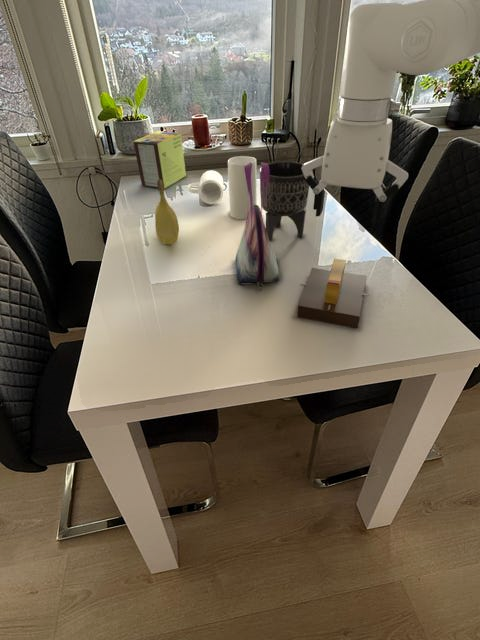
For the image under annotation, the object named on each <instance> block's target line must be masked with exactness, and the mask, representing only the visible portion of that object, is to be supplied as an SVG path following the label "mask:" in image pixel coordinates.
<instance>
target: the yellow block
mask: <svg viewBox="0 0 480 640" xmlns="http://www.w3.org/2000/svg"><path fill="white" fill-rule="evenodd" d="M346 263H347V260H346V259H341V258H334V259H333V262H332V265H331V269H330V270H331V272H330V275H329V278H328V282H327V287H326V294H325V301H324V302H326V303H332V304H337V300H338V296H339V292H340V288H341V284H342V280H343V275H344V273H345V268H346Z"/></svg>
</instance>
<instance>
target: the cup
mask: <svg viewBox="0 0 480 640" xmlns="http://www.w3.org/2000/svg"><path fill="white" fill-rule="evenodd" d="M250 162H251V163H252V170H251V188H252V203H253V205H258V204H257V200H258V199H257V197H258V195H257V194H258V193H257V192H258V190H257V188H258V187H257V173H258V172H257V158H255V157H253V156H248V155H240V156H233V157H230V158H229V159H228V160H227V173H228V174H227V175H228V194H229V195H228V196H229V214H230V215H229V216H230V217H231V218H233V219H236V220H246V218H247V213H249V209H250V207H251V206H250V196H249V191H248V187H247V182H246V175H245V168H244V167H245V165H247V164H249V163H250Z"/></svg>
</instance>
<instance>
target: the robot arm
mask: <svg viewBox="0 0 480 640" xmlns="http://www.w3.org/2000/svg"><path fill="white" fill-rule="evenodd" d="M346 31H347V32H346V39H345V47H344V54H343V55H344V57H343V62H342V63H343V64H342V71H341V72H342V73H341V78H340V79H341V81H340V88H339V96H338V106H337V111H336V112H337V113H336V116H333V118H332V120H331V122H330V126H329V130H328V133H327V136H326V137H327V138H326V142H325V147H324V153H323V155H320V156H318V157H316V158H313V159H311V160H309V161H307V162H305V163H303V164H304V165H303V166H302V168H301V169H302V172H303V174H304V177H305V178H306V182H307V184H308V185H309V188H310V189H311V190H312V193H313V194H314V198H313V199H314V200H313V207H312V210H315V217H320V216H321V215H322V214H323V211H324V204H325V197H326V196H325V195H326V190H325V189H326V188H327V187H328V186H333V187H343V188H344V187H345V188H351V189H361V190H372V191H373V192H374V194H375V199H374V204H373V209H372V213H371V214H372V215H371V219H370V223H371V224H373V225H374V224H376V220H377V218H379V219H381V217H382V212H383V207H384V203H385V201H386V200H387V199H389V198H390V197H391V196H393V195H394V194H396V193H397V192H399V190H400V189H401V187H402V186H403V185H404V184H405V182H407V180H408V179H409V173H408V171H406V170H404V169H403V168H401V167H400V166H398V165H397V164H395V163H394V162H393V161H391V160H390V159H389V157H390V156H389V155H390V150H391V143H392V137H393V136H392V135H393V120H392V119H391V118H389V116H391V114H395V113H396V114H400V109H401V104H402V102H399V101H398V102H397V101H396V100H394V99H393V94H394V89H395V83H396V78H397V73H401V74H407V75H411V76H423V75H428V74H431V73H434V72H436V71H439V70H442V69H445V68H448V67H451V66H453V65H455V64H457V63H460V62H462V61H464V60H467V59H469V58H471V57H473V56H475V55H478V54H480V0H419V1H415V2H414V1H413V2H409V3H405V4H402V3H398V2H379V3H378V2H377V3H375V2H374V3H366V4H365V3H364V4H360V5H357V6H355V8H353V10H352V11H351V13H350V15H349V19H348V25H347V30H346ZM319 167H321V172H320V180H318V178H317V177H316V176H315V175H314V173H313V170H314V169H316V168H319ZM386 172H387V173H389V174H390V175H392V176H393V177H395V180H394V181H393V182H392V183H391V184H389V185H388V186H385V184H384V183H383V181H384V178H385V176H386Z"/></svg>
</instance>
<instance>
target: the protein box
mask: <svg viewBox="0 0 480 640" xmlns="http://www.w3.org/2000/svg"><path fill="white" fill-rule="evenodd" d="M182 141H183V140H182V132H173V131H161V130H157V131H154V132H153V133H152V132H151V133H150V134H147V135H144V136H143V137H140V138H138V139H134V140H133V141H132V143H133V148H134V153H135V157H136V162H137V167H138V173H139V176H140V177H139V178H140V183H141V186H143V187H149V188H156V189H158V185H157V181H158V180H159V179H161V180H163V182H164V188H165V189H167V188H168V187H170V186H172V185H174V184H175V183H177V182H178V181H180V180H181V179H183V178H185V177H186V176H187V174H186V165H185V155H184V148H183V147H184V146H183V142H182Z"/></svg>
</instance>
